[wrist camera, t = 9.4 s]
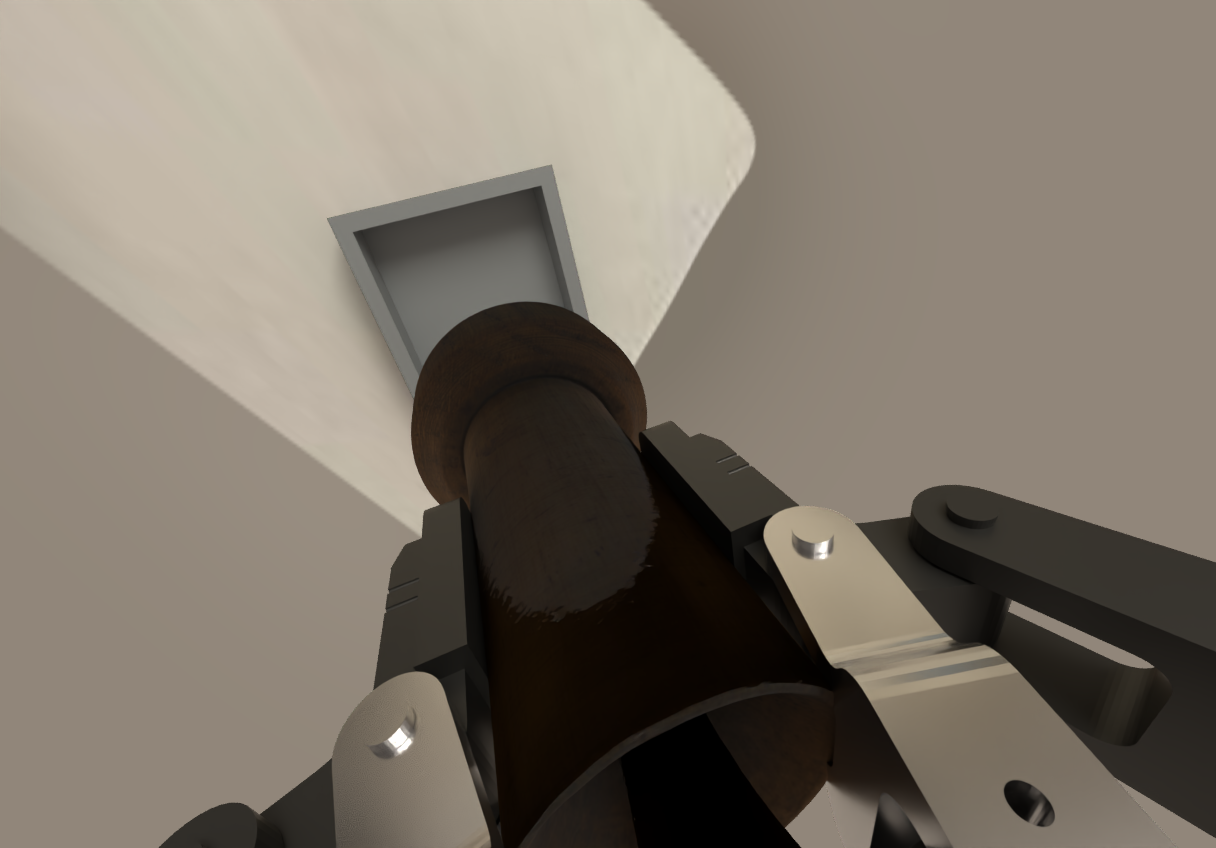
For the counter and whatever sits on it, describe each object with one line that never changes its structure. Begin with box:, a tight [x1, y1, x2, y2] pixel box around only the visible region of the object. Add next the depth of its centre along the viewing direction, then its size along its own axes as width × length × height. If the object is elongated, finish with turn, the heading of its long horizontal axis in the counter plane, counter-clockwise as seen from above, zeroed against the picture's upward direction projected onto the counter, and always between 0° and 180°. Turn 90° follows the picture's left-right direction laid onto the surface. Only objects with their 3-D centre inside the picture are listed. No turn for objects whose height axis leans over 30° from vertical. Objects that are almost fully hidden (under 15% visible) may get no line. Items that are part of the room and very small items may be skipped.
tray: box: [327, 165, 589, 399], centre depth 33 cm, size 14×14×4 cm
